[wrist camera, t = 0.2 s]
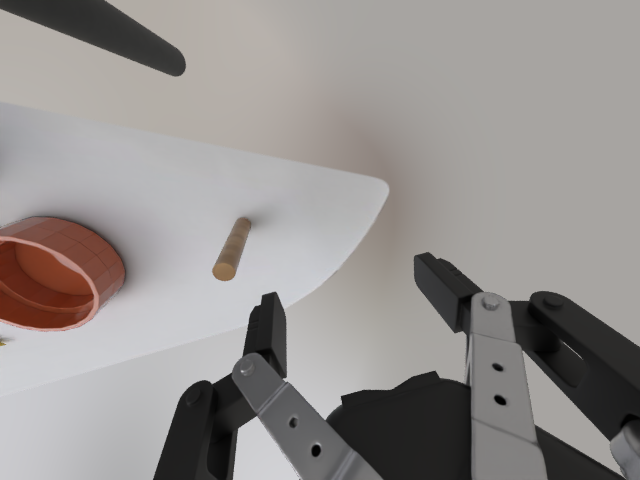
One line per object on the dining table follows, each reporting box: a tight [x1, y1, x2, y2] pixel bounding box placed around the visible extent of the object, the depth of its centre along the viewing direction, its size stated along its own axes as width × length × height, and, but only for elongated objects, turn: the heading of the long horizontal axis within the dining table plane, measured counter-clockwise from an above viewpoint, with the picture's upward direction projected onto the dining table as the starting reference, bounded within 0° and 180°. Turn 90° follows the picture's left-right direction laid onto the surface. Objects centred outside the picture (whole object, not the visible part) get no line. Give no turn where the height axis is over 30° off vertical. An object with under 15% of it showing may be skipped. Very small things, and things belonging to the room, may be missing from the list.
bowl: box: [0, 217, 125, 332], centre depth 30 cm, size 14×14×6 cm
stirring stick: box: [212, 218, 251, 281], centre depth 28 cm, size 2×2×12 cm
